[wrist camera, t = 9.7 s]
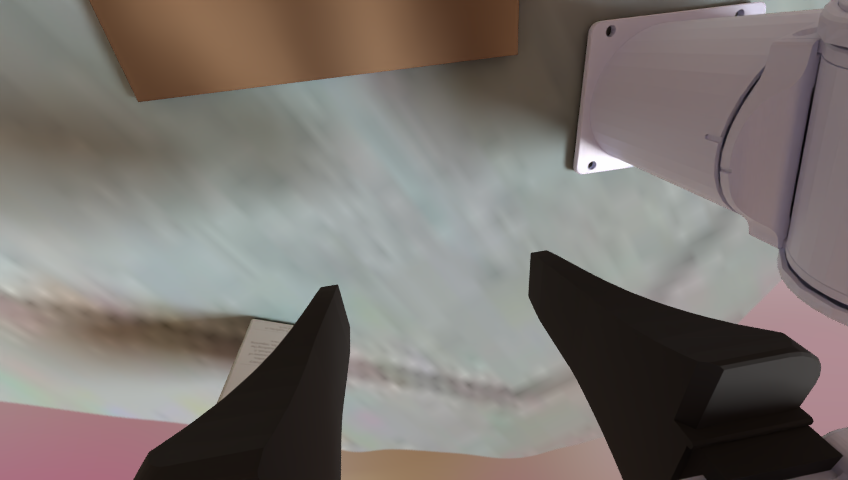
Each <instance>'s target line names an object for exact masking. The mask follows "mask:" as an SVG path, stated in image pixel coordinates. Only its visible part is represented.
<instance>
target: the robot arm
mask: <svg viewBox="0 0 848 480" xmlns="http://www.w3.org/2000/svg"><path fill="white" fill-rule="evenodd" d="M736 12H738V13H737V16H735V14H736ZM765 12H766V5H765V3H764V2H753V3H745V4H736V5H728V6H720V7H711V8H703V9H695V10H687V11H678V12H670V13H662V14H654V15H645V16H637V17H629V18H620V19H612V20H604V21H598V22H595V23H594V24H593V25H592V26H591V28H590V29H589V33H588V40H587V49H586V58H585V67H584V76H583V85H582V94H581V103H580V111H579V120H578V129H577V138H576V147H575V156H574V165H573V168H574V171H575V172H577V173H579V174H588V173H595V172H602V171H608V170H615V169H622V168H628V167H637V168H639V169H641V170H643V171H646V172H648V173H650V174H652V175H655V176H657V177H659V178H661V179H663V180H666V181H668V182H670V183H672V184H674V185H677V186H679V187H681V188H683V189H685V190H688V191H690V192H692V193H694V194H697V195H699V196H701V197H703V198H705V199H708V200H710V201H712V202H714V203H716V204H719V205H721V206H723V207H725V208H727V209H730V210H732V211H734V212H736V213H739V214H740V215H742V216H743V217H744V218H745V219H746V220H747V222H748V225H749V234H750V235H752V236H754V237H756V238H758V239H760V240H762V241H764V242H766V243H768V244H770V245H772V246H774V247H776V248H778V249H779V253H778V270H779V273H780V275H781V278H782V280H783V281H784V282H785V284H786V285H787V287H788V288H789V289H790V290H791V291H792V292H793V293H794V294H795V295H796V296H797V297H798V298H799V299H801V300H802V301H803V302H805V303H806V304H807V305H809V306H810V307H812V308H813V309H815V310H817V311H818V312H820V313H822V314H824V315H825V316H827V317H829V318H831V319H833V320H835V321H837V322H840V323H842V324H844V325H846V326H848V0H831V1H830V2H829V3H828V4H827V5H825V7H824V9H814V10H803V11H791V12H779V13H767V14H765ZM609 26H610V27H611V33H610V35H609V36H608V37H607V35H606V30H607V28H608V27H609ZM592 161H593V164H592V166H591V167H589V168H588V164H589V163H590V162H592ZM528 296H529V299H530V301H531V303H532V305H533V308H534V310H535V312H536V314H537V316H538V318H539V320H540V322H541V323H542V325H543V326H544V328H545V330H546V331H547V333H548V334H549V336H550V337H551V339H552V341H553V342H554V344H555V345H556V347H557V348H558V350H559V351H560V353H561V355H562V356H563V358H564V359H565V361H566V362H567V364H568V365H569V367H570V369H571V370H572V372H573V374H574V375H575V377H576V379H577V381H578V383H579V385H580V387H581V389H582V391H583V393H584V395H585V397H586V399H587V401H588V403H589V405H590V407H591V409H592V411H593V413H594V415H595V417H596V420H597V422H598V424H599V426H600V428H601V430H602V432H603V435H604V437H605V439H606V441H607V444H608V446H609V448H610V450H611V452H612V455H613V457H614V459H615V462H616V464H617V466H618V469H619V471H620V473H621V475H622V478H623V480H848V427H847V428H842V429H837V430H835V431H832V432H829V433H827V434H826V435H824V436H823V437H821V436H820V435H819V434H818V433H816V432H815V431H814V430H813V429H812V428H811V427H810V426H808V425H811V424H812V423H813V419H812V417H811V416H810V415H808V414H807V413H806V412H805V411H804V410H802V409H801V408H800V405H801V404H802V403H803V401H804V400H805V398H806V397H807V395H808V394H809V392H810V391H811V389H812V388H813V387H814V385H815V384H816V382H817V380H818V378H819V376H820V371H821V364H820V361H819V359H818V358H817V357H816V356H815V355H813V354H812V353H811V352H809V351H808V350H806V349H805V348H803V347H802V346H801V345H799V344H798V343H796V342H795V341H794V340H792V339H791V338H789V337H788V336H787V335H785V334H783V333H781V332H775V331H770V330H765V329H759V328H754V327H748V326H743V325H738V324H733V323H729V322H725V321H721V320H716V319H712V318H708V317H704V316H701V315H697V314H693V313H690V312H686V311H683V310H680V309H676V308H673V307H670V306H667V305H664V304H661V303H658V302H655V301H652V300H650V299H647V298H644V297H642V296H639V295H637V294H634V293H632V292H629V291H627V290H624V289H622V288H620V287H618V286H616V285H613V284H611V283H609V282H607V281H605V280H603V279H601V278H599V277H597V276H595V275H593V274H591V273H589V272H587V271H585V270H583V269H581V268H579V267H578V266H576V265H574V264H572V263H570V262H568V261H567V260H565V259H563V258H561V257H559V256H557V255H555V254H553V253H551V252H549V251H547V250H546V251H540V252H534V253H531V259H530V277H529V294H528ZM349 356H350V325H349V322H348V318H347V315H346V311H345V308H344V304H343V301H342V297H341V294H340V290H339V287H338V285H332V286H326V287H321V288H320V289H319V291H318V292H317V293H316V295H315V296H314V298H313V299H312V301H311V302H310V304H309V305H308V306H307V308H306V309H305V311H304V312H303V314H302V315H301V316H300V318H299V319H298V320H297V322H296V323H295V325H294V326H293V327H292V329H291V330H290V331H289V332H288V334H287V335H286V336H285V337H284V339H283V340H282V341H281V342H280V343H279V345H278V346H277V347H276V348H275V349H274V351H273V352H272V353H271V354H270V355H269V356H268V357H267V358H266V359H265V360H264V361H263V362H262V363H261V364H260V365H259V366H258V367H257V368H256V369H255V370H254V371H253V372H252V373H251V374H250V375H249V376H248V377H247V378H246V379H245V380H244V381H242V382H241V383H240V384H239V385H238V386H237V387H236V388H235V389H234V390H232V391H231V392H230V393H229V394H228V395H227V396H226V397H224V398H223V399H222V400H221V401H219V402H218V403H217V404H216V405H215V406H213V407H212V408H211V409H209V410H208V411H207V412H206V413H204V414H203V415H202V416H200V417H199V418H198V419H196V420H195V421H194V422H192V423H191V424H190V425H188V426H187V427H185V428H184V429H183V430H181V431H180V432H178V433H177V434H175V435H174V436H172V437H171V438H169V439H168V440H166V441H165V442H163V443H162V444H161V445H159V446H158V447H156V448H155V449H153V450H151V451H150V452H149V453H148V455H147V457H146V458H145V460H144V462H143V464H142V465H141V467H140V469H139V470H138V472H137V474H136V476H135V478H134V480H341V432H342V413H343V404H344V396H345V388H346V381H347V373H348V364H349Z"/></svg>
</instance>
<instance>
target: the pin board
mask: <svg viewBox="0 0 848 480" xmlns="http://www.w3.org/2000/svg"><path fill="white" fill-rule="evenodd" d="M89 1H90V3H91V5H92V7H93V9H94V11H95V13H96V16H97V18H98V20H99V22H100V24H101V26H102V28H103V30H104V32H105V34H106V36H107V38H108V40H109V42H110V45H111V47H112V49H113V51H114V53H115V55H116V57H117V59H118V61H119V63H120V65H121V67H122V69H123V71H124V74H125V76H126V78H127V80H128V82H129V84H130V86H131V88H132V90H133V92H134V94H135V96H136V98H137V100H138V102H142V101H150V100H158V99H166V98H174V97H182V96H190V95H198V94H206V93H214V92H222V91H230V90H238V89H246V88H254V87H262V86H270V85H278V84H286V83H294V82H302V81H310V80H318V79H326V78H334V77H342V76H350V75H358V74H366V73H374V72H382V71H390V70H398V69H406V68H414V67H422V66H430V65H438V64H446V63H454V62H462V61H470V60H478V59H485V58H493V57H501V56H509V55H517V54H518V20H519V0H89Z"/></svg>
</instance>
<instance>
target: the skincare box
mask: <svg viewBox="0 0 848 480" xmlns="http://www.w3.org/2000/svg"><path fill="white" fill-rule="evenodd" d="M293 326H294V325H289V324H283V323H276V322H270V321H264V320H258V319H252V320H251V321H250V325H249V327H248V329H247V332H246V334H245V337H244V339H243V342H242V344H241V346H240V349H239V351H238V354H237V356H236V358H235V361H234V363H233V366H232V368H231V370H230V373H229V375H228V378H227V380H226V383H225V385H224V387H223V390H222V392H221V395H220V397H219V399H218V402H219V401H221V400H222V399H223V398H224V397H226V396H227V395H228V394H229V393H230V392H231V391H232V390H234V389H235V388H236V387H237V386H238V385H239V384H240V383H241V382H242V381H244V380H245V379H246V378H247V377H248V376H249V375H250V374H251V373H252V372H253V371H254V370H255V369H256V368H257V367H258V366H259V365H260V364H261V363H262V362H263V361H264V360H265V359H266V358H267V357H268V356H269V355H270V354H271V353H272V352H273V351H274V349H275V348H276V347H277V346H278V345H279V343H280V342H281V341H282V340H283V339H284V337H285V336H286V335H287V334H288V332H289V331H290V330H291V329H292V327H293ZM218 402H217V403H218Z"/></svg>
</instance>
